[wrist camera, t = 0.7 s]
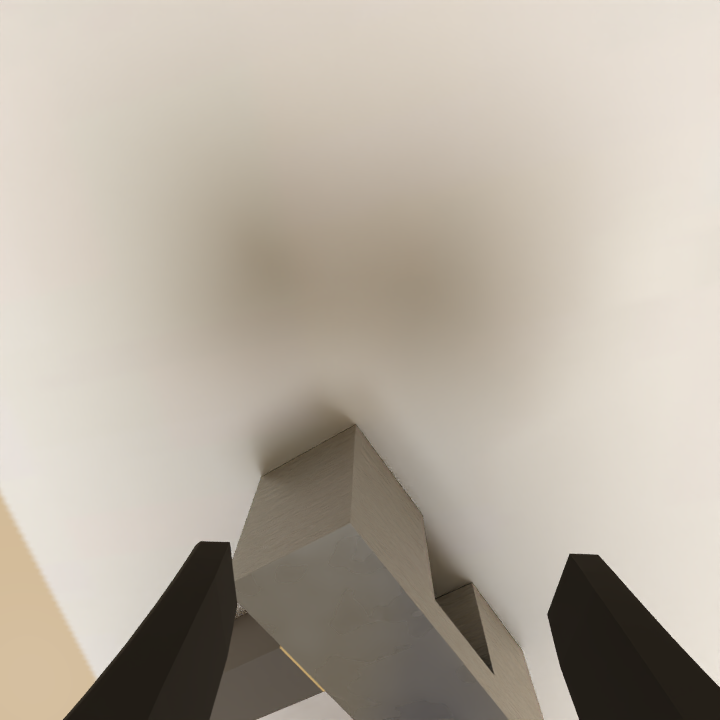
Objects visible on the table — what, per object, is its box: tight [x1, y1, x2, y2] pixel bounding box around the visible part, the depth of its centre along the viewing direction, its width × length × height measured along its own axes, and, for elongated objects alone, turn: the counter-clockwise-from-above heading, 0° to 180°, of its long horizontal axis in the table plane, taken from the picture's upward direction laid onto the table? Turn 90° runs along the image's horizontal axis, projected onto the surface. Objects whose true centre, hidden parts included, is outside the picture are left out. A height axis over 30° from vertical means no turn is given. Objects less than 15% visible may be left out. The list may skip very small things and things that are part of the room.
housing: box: [232, 425, 544, 720], centre depth 21 cm, size 5×16×6 cm, turn 33°
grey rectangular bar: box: [210, 613, 325, 720], centre depth 24 cm, size 11×3×3 cm, turn 123°
